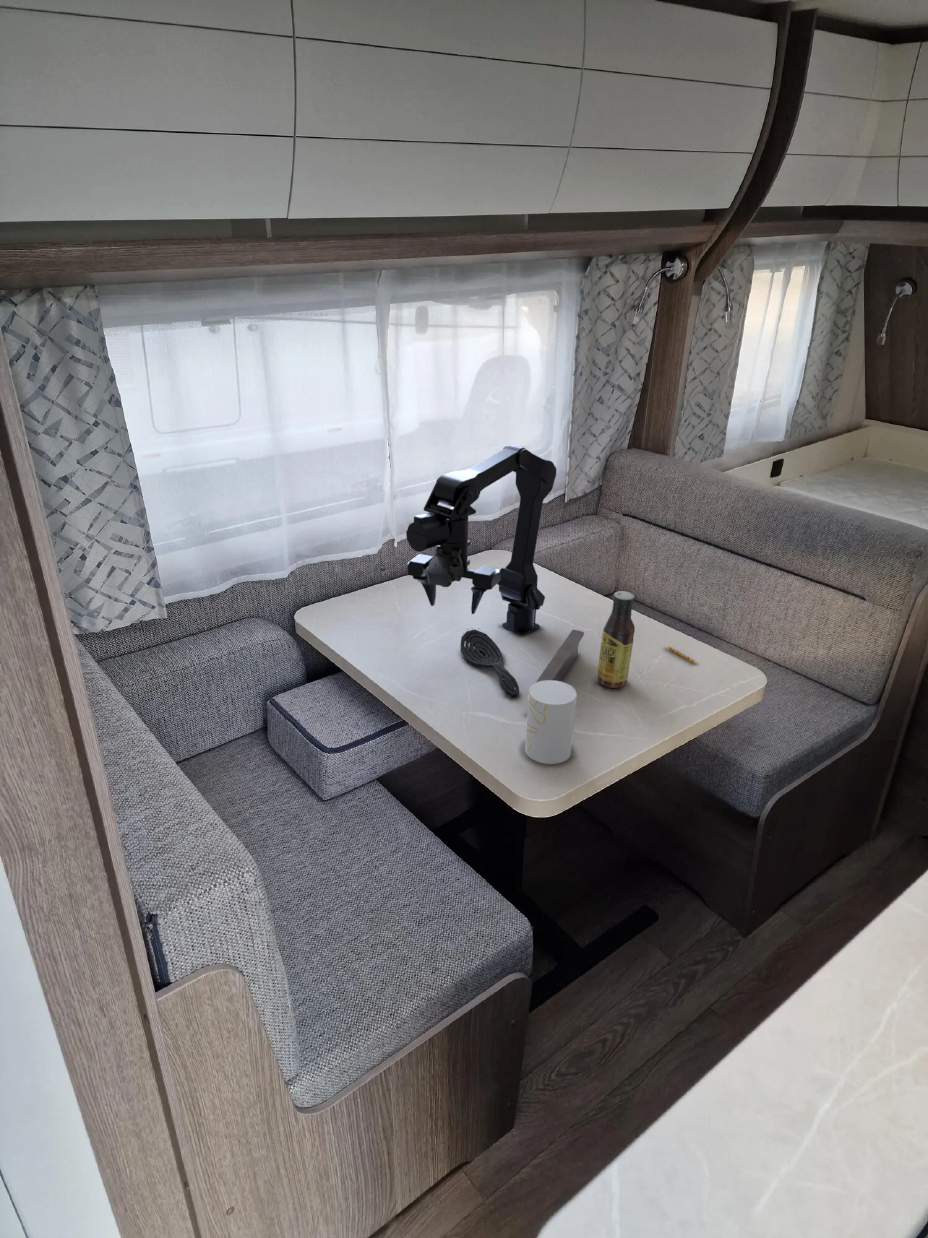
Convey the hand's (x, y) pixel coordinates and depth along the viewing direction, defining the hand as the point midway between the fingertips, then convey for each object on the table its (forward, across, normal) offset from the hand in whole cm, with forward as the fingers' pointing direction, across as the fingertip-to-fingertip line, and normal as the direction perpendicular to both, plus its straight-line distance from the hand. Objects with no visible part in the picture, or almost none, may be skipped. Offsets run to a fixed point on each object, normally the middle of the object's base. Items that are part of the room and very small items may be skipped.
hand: (452, 609), depth 169 cm
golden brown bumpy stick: (+12, +44, +23) cm, 51 cm away
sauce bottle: (+12, +34, +5) cm, 36 cm away
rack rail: (+12, +23, 0) cm, 26 cm away
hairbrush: (+12, +9, 0) cm, 15 cm away
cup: (+12, +29, -24) cm, 39 cm away
